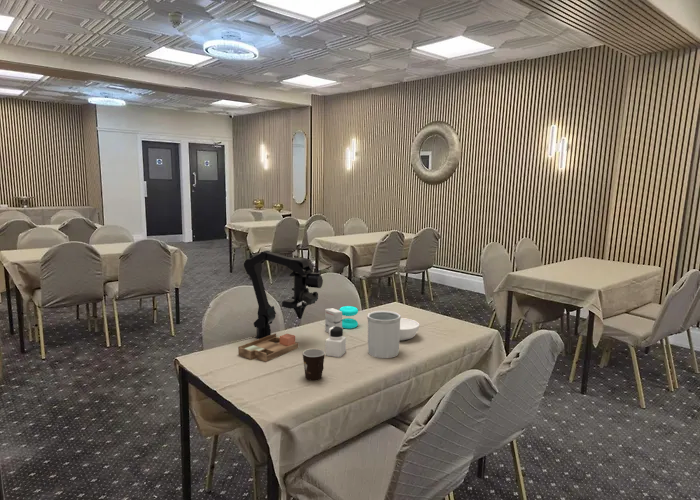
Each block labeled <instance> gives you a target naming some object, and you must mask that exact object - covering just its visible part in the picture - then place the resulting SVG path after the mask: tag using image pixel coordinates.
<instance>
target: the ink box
mask: <svg viewBox="0 0 700 500" xmlns="http://www.w3.org/2000/svg"><path fill="white" fill-rule="evenodd" d="M324 319H325V320H324V322H325V323H324V329H325V332H326V333H328V334H329V329H330V328H331V327H334V326H337V327H341V328H342V319H343V315H342V311H339V309H336V308H333V307H332V308H325V309H324ZM342 329H343V328H342Z"/></svg>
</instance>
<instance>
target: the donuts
mask: <svg viewBox="0 0 700 500" xmlns="http://www.w3.org/2000/svg"><path fill="white" fill-rule="evenodd" d="M338 310H339V311H342V316H343V317H344V316H345V318H342V329H348V330H349V329H350V330H351V329H355V328H357V326H358V325H359V322H358V321H357V320H356V319H354V318H350V317H354V316H356V315H358V313H359V309H358V308H357V307H356V306H351V305H346V306H345V305H344V306H341V307H340V308H339V309H338ZM346 317H348V318H346Z"/></svg>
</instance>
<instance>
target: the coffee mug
mask: <svg viewBox="0 0 700 500" xmlns="http://www.w3.org/2000/svg"><path fill="white" fill-rule="evenodd" d="M325 356H326V355H325V350H323V349H320V348H308V349H305V350H304V351H302V358H303V359H302V360H303V368H304V370H303V371H304V377H305V379H306V380H307V381H313V382H315V381H319V380H321V379H322V378H323V371H324V363H325Z"/></svg>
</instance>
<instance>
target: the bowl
mask: <svg viewBox="0 0 700 500" xmlns="http://www.w3.org/2000/svg"><path fill="white" fill-rule="evenodd" d="M419 328H420V323H419V322H418V321H417V320H414V319H411V318H405V317H401V319H400V339H399V341H405V340H406V341H407V340H410V339H413V338H414V337H415V336H416V335H417V333H418V331H419Z"/></svg>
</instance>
